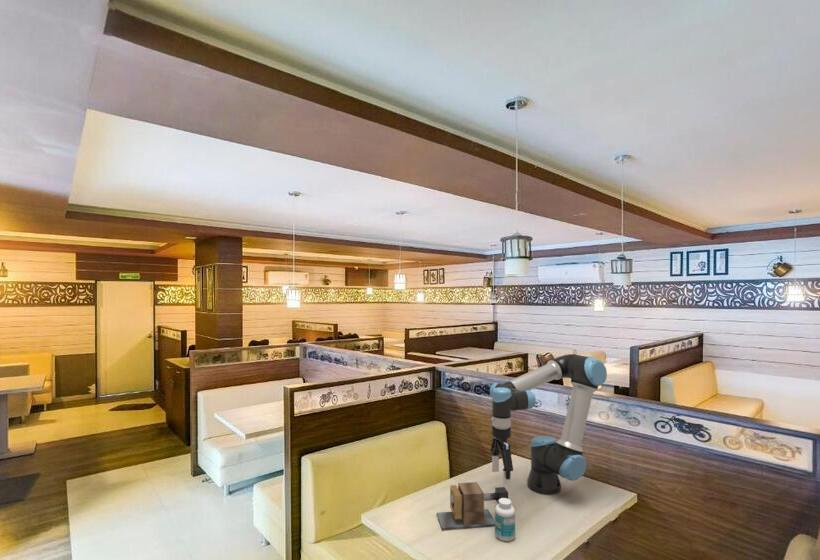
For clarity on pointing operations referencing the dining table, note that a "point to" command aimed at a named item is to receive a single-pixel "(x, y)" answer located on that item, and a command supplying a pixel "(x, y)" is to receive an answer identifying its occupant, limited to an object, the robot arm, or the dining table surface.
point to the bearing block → (468, 510)
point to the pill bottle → (505, 520)
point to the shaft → (492, 495)
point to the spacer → (456, 502)
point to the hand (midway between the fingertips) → (500, 478)
